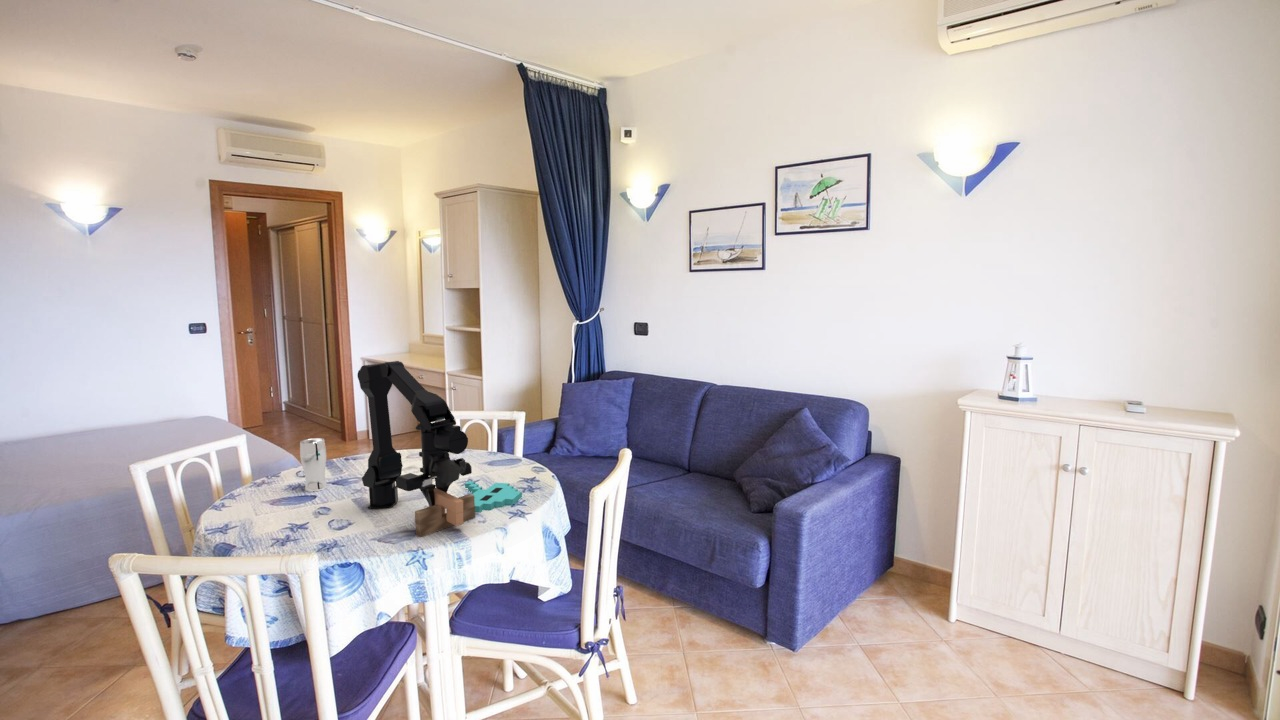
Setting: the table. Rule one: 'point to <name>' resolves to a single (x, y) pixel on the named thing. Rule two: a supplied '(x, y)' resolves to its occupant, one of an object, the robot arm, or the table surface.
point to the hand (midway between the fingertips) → (436, 507)
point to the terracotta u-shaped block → (449, 506)
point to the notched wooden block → (441, 516)
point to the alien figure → (493, 495)
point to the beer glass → (314, 463)
